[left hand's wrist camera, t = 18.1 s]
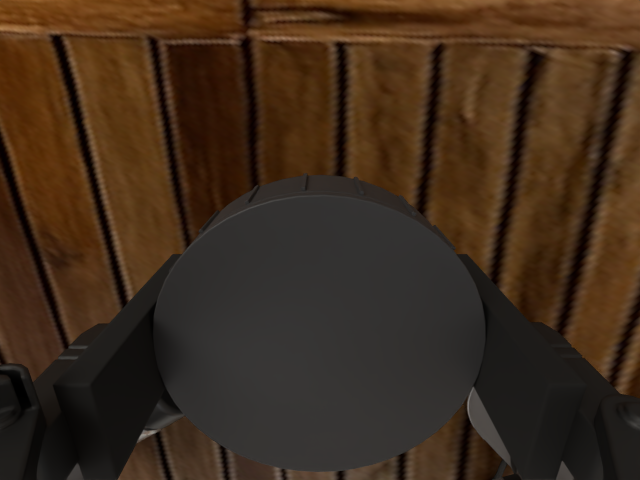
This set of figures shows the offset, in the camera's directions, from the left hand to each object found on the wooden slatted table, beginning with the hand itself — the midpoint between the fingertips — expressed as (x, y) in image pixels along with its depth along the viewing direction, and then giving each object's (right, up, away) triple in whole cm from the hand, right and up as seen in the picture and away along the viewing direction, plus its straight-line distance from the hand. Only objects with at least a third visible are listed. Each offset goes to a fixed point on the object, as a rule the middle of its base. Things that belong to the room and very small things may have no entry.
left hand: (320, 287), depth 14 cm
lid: (0, -1, -3) cm, 3 cm away
